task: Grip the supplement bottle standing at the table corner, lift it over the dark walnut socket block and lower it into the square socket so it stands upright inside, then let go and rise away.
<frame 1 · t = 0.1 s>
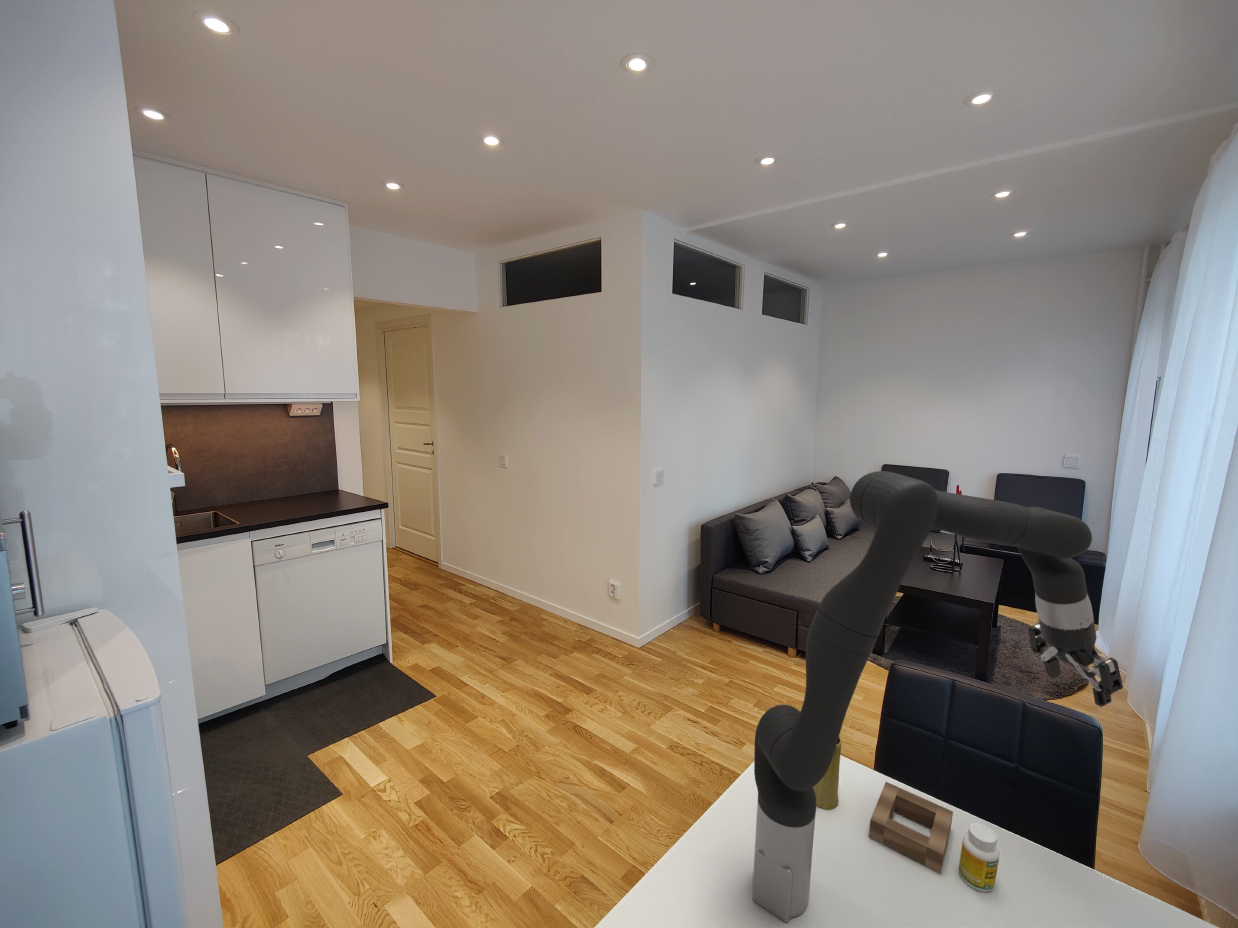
hand: (1077, 689, 96), 31 cm above the table, tool tilted 20°, fingers open, 8 cm apart
vase: (822, 798, 111), on the table
socket block: (910, 832, 103), on the table
supplement bottle: (975, 879, 94), on the table
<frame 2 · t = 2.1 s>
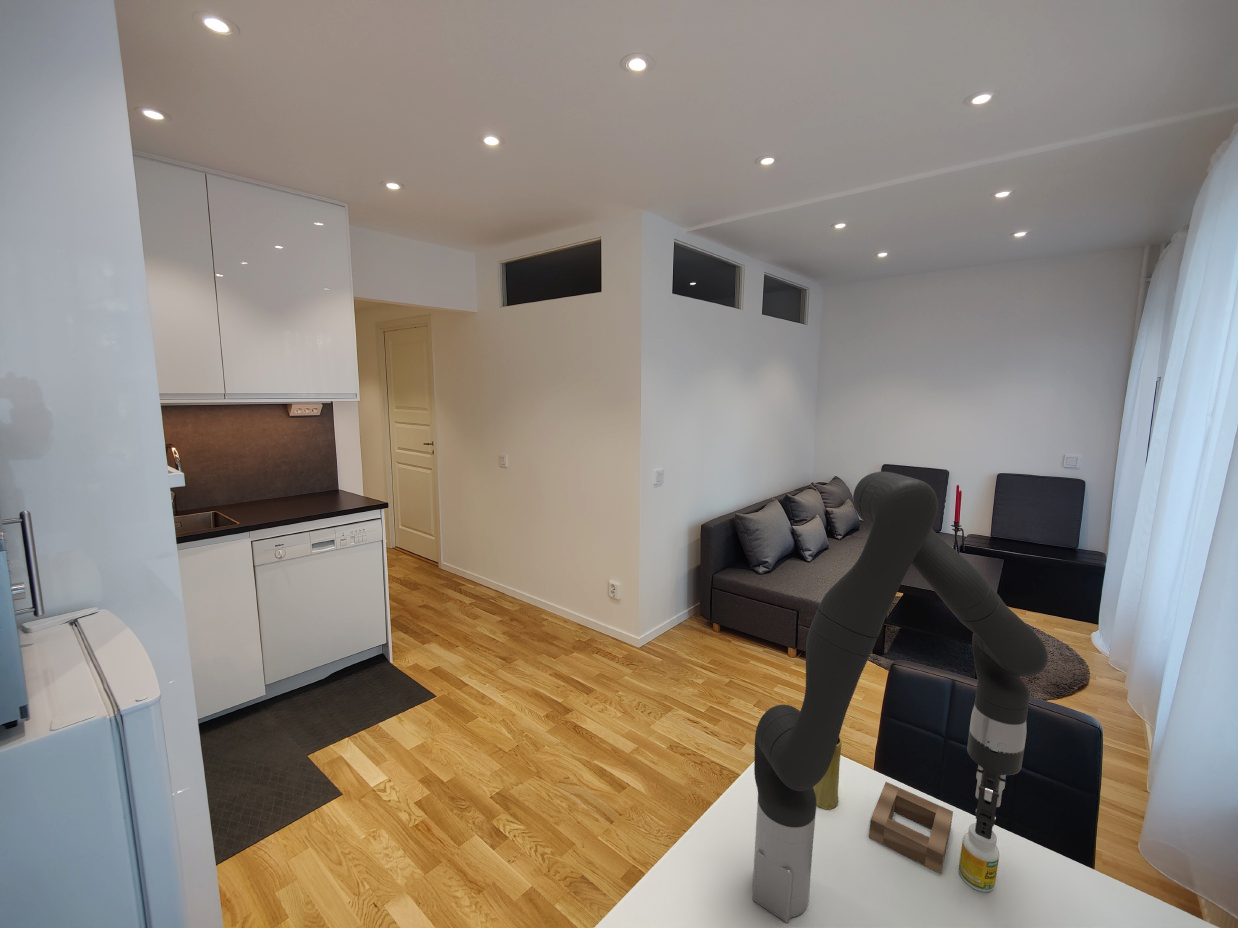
hand: (985, 818, 91), 12 cm above the table, tool pointing down, fingers open, 8 cm apart
nothing on the table moved.
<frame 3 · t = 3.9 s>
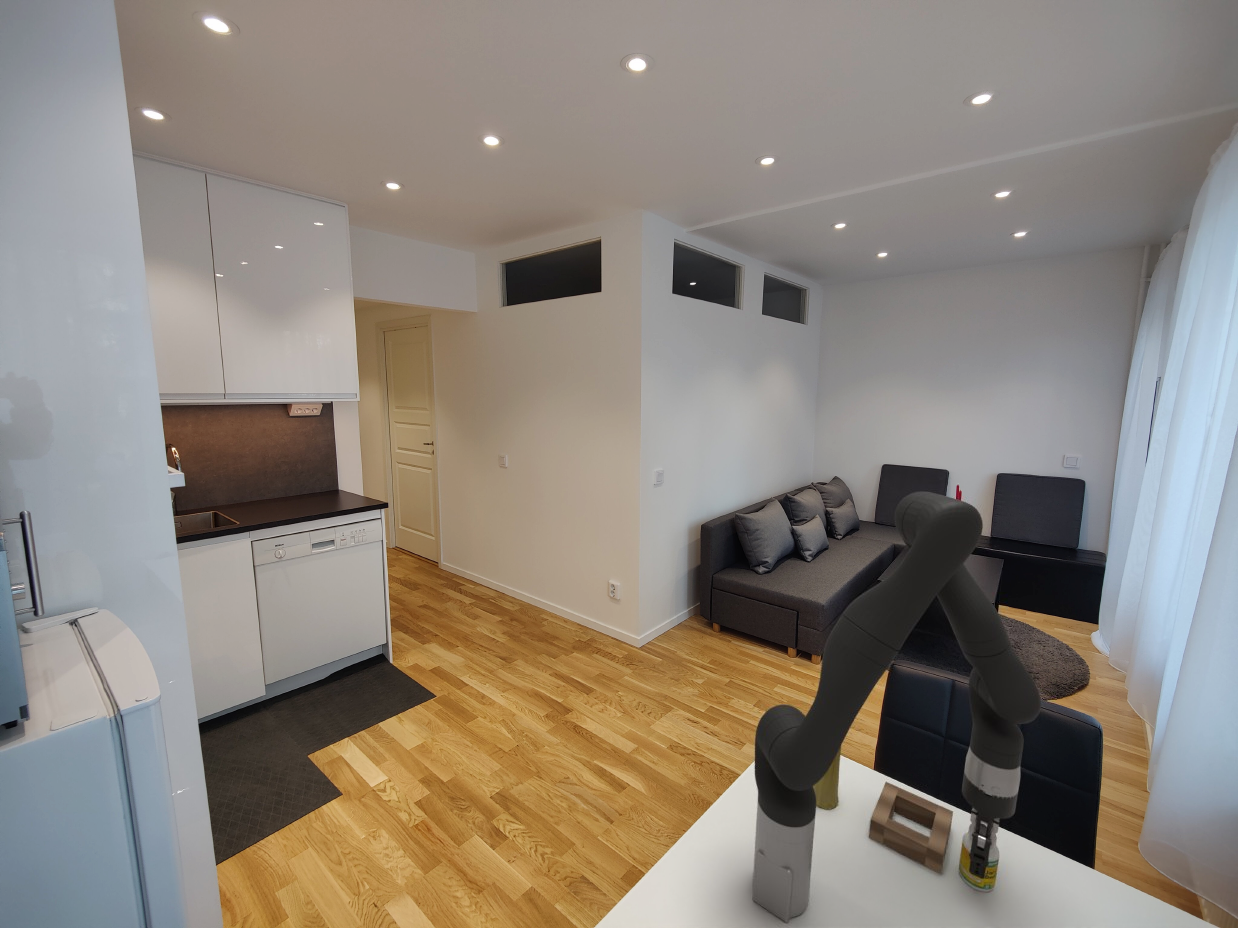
hand: (978, 861, 93), 3 cm above the table, tool pointing down, fingers closed on supplement bottle, 5 cm apart
supplement bottle: (975, 879, 94), on the table, touching gripper
everything else where it was.
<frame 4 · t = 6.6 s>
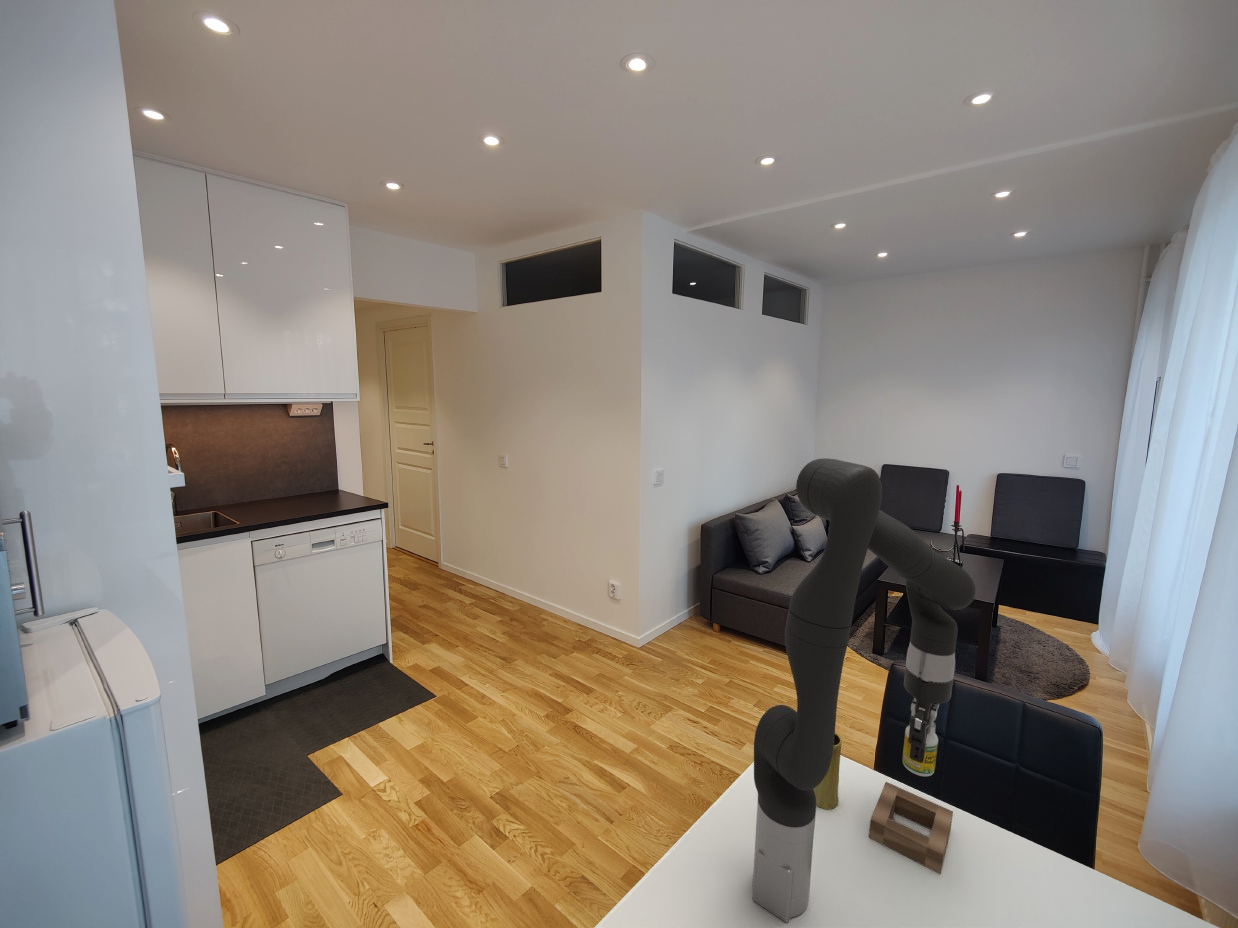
hand: (919, 750, 99), 18 cm above the table, tool pointing down, fingers closed on supplement bottle, 5 cm apart
supplement bottle: (917, 767, 100), point 14 cm above the table, touching gripper
everything else where it was.
when the fingers open (5 cm above the table, at t = 9.3 s): supplement bottle drops 1 cm, resting in socket block.
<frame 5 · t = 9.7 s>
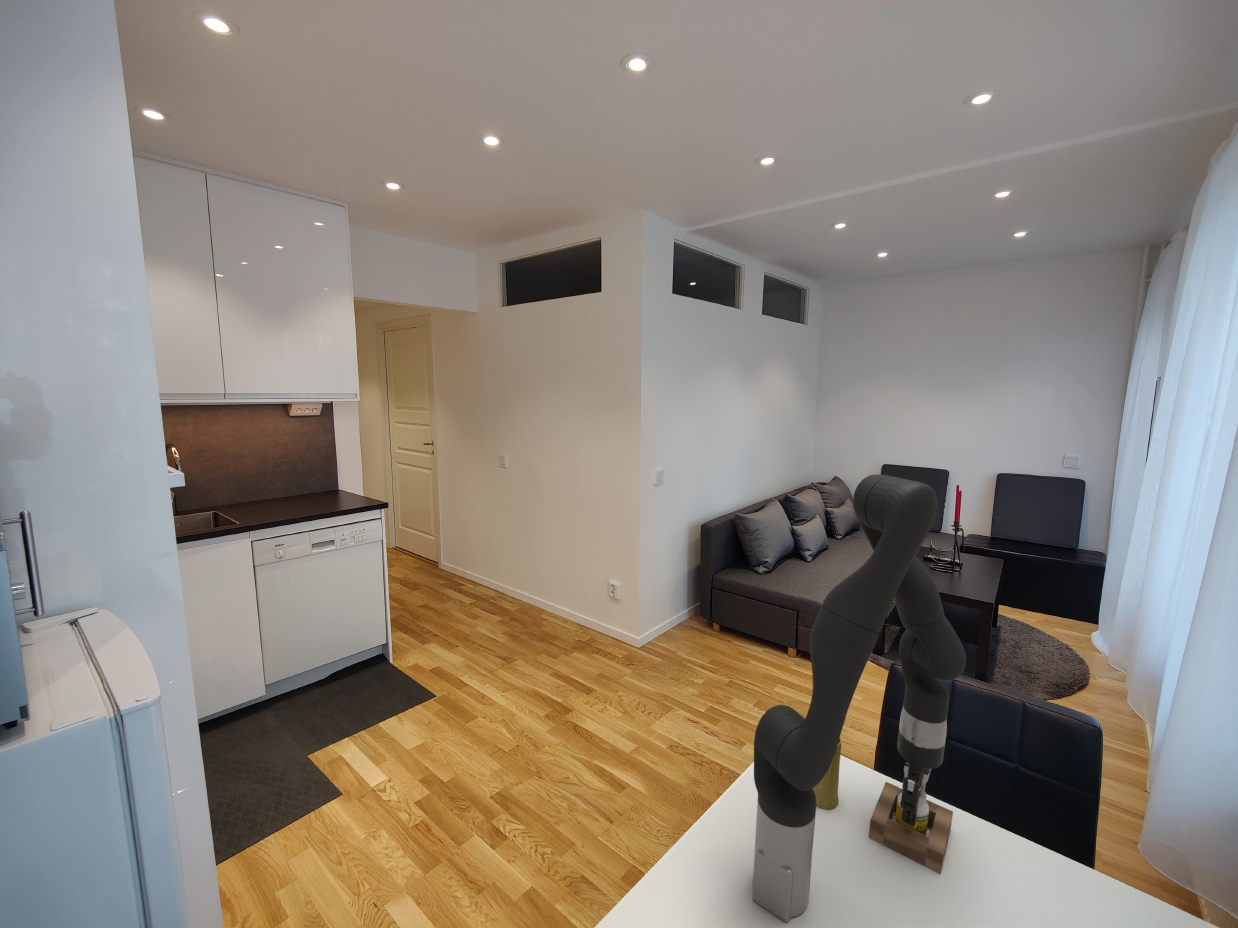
hand: (913, 807, 102), 6 cm above the table, tool pointing down, fingers open, 8 cm apart
supplement bottle: (909, 834, 103), resting in socket block
everything else where it was.
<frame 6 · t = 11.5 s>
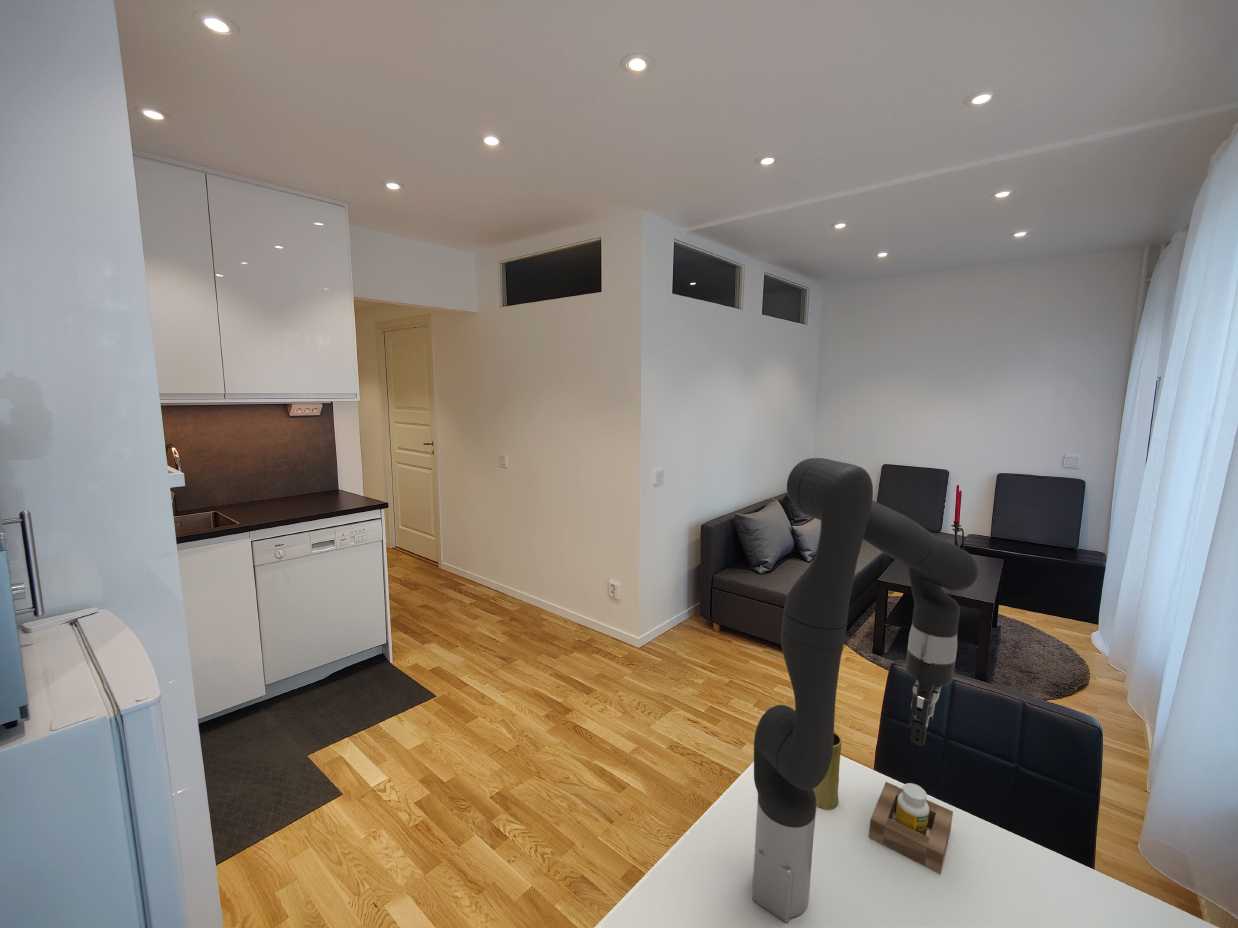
hand: (921, 730, 99), 22 cm above the table, tool pointing down, fingers open, 8 cm apart
nothing on the table moved.
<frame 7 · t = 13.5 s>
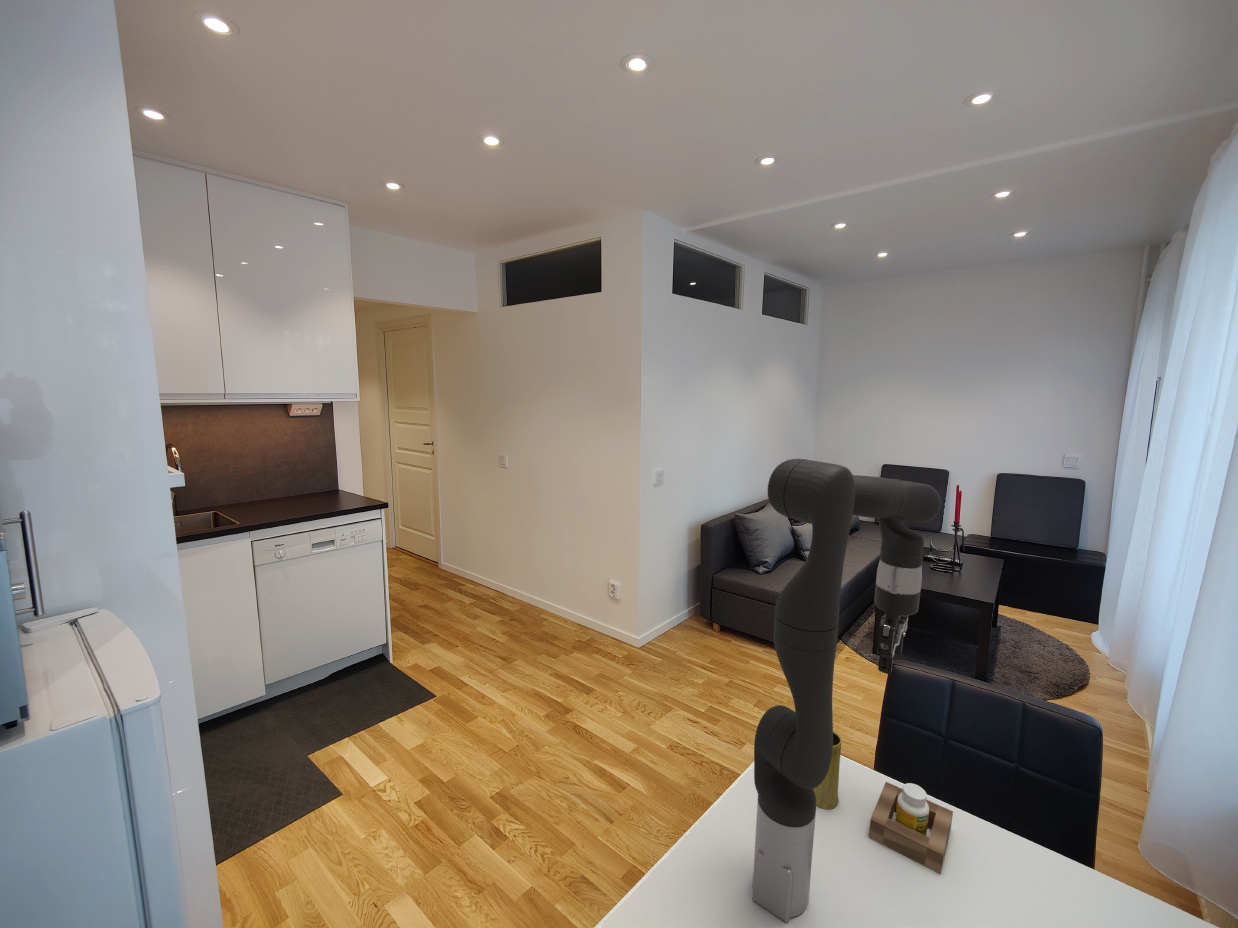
hand: (889, 662, 103), 32 cm above the table, tool pointing down, fingers open, 8 cm apart
nothing on the table moved.
at the end: supplement bottle 0.2 cm off-centre on the socket block, point 0.0 cm above the socket block's base; supplement bottle tilted 0°; the gripper is holding nothing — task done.
